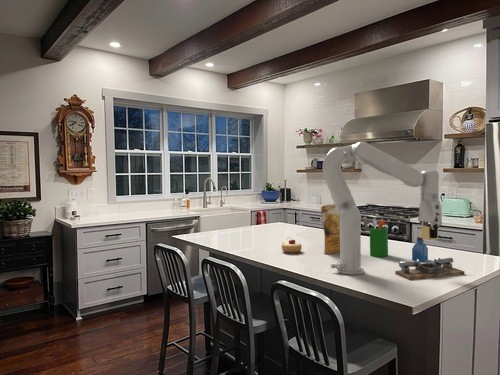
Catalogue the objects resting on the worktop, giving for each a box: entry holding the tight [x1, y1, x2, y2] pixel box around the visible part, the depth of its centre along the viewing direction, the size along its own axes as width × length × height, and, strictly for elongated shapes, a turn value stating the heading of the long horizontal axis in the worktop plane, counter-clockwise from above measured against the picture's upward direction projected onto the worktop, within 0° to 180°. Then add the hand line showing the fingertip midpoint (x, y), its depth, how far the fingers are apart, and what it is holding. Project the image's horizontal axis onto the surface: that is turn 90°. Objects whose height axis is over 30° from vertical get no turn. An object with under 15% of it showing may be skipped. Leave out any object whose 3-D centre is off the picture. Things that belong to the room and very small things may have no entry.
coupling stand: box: [394, 262, 465, 281], centre depth 177 cm, size 29×10×4 cm, turn 104°
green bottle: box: [369, 220, 389, 258], centre depth 217 cm, size 10×9×20 cm
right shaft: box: [433, 257, 454, 269], centre depth 181 cm, size 9×4×7 cm, turn 114°
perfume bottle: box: [411, 236, 429, 263], centre depth 205 cm, size 6×6×12 cm
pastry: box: [281, 237, 303, 254], centre depth 230 cm, size 12×12×9 cm
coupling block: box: [420, 223, 439, 241], centre depth 177 cm, size 5×5×7 cm
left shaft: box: [398, 260, 422, 273], centre depth 177 cm, size 9×4×7 cm, turn 94°
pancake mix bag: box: [320, 204, 340, 255], centre depth 228 cm, size 7×19×28 cm, turn 132°
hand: (429, 236), depth 177 cm, fingers closed on coupling block, 5 cm apart
